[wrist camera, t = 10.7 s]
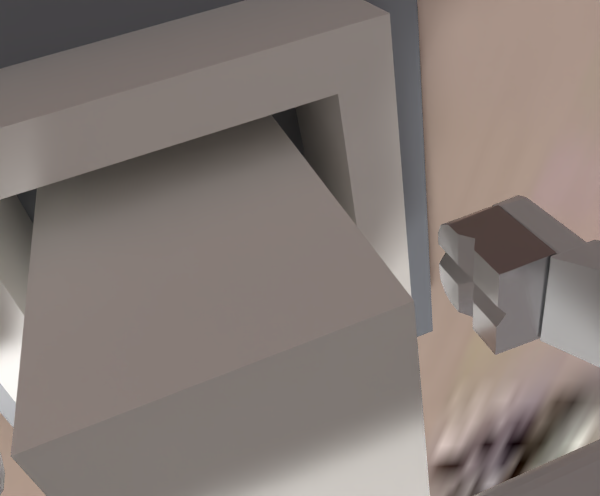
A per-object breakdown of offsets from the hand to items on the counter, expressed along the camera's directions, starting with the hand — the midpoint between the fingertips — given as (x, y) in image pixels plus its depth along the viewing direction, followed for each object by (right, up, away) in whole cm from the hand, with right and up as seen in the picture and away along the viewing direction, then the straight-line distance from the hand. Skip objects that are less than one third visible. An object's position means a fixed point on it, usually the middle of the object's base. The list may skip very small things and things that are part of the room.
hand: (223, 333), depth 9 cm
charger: (-1, +2, +3) cm, 4 cm away
